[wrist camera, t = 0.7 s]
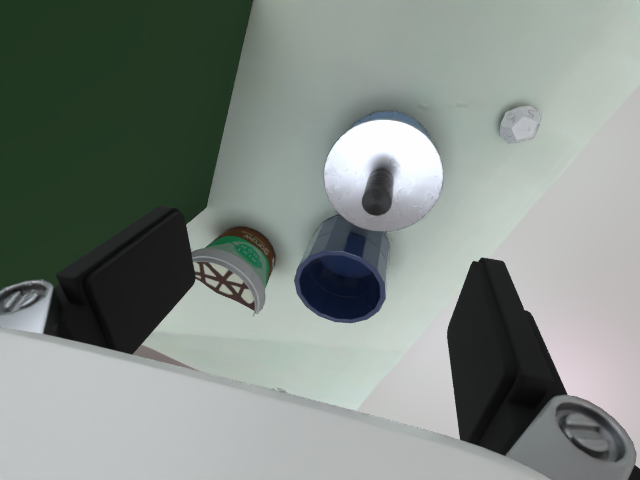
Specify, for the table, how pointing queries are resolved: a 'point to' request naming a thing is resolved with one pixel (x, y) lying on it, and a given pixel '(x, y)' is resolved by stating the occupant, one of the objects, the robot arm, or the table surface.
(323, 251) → the pot
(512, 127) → the game die
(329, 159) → the lid
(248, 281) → the food container
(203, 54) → the binder
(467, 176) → the table surface
